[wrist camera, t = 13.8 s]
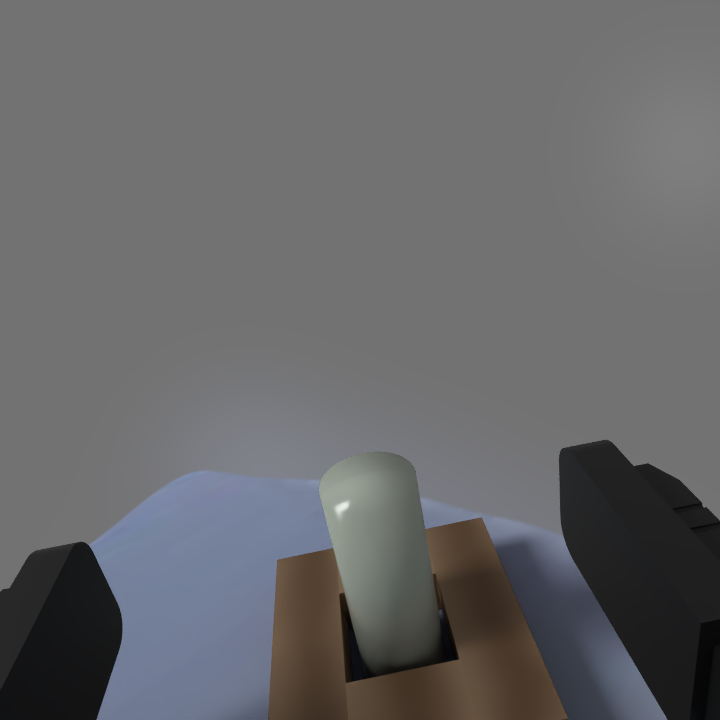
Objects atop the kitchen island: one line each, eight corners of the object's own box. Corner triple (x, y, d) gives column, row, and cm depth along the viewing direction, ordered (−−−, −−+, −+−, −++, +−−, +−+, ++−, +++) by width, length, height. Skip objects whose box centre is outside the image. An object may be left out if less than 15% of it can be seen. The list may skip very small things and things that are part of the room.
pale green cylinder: (368, 709, 32) (320, 522, 26) (360, 635, 36) (317, 462, 31) (455, 691, 32) (424, 501, 26) (436, 620, 36) (407, 444, 31)
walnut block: (280, 819, 27) (264, 781, 26) (287, 592, 40) (277, 559, 39) (570, 758, 28) (568, 718, 26) (485, 551, 40) (481, 517, 39)
